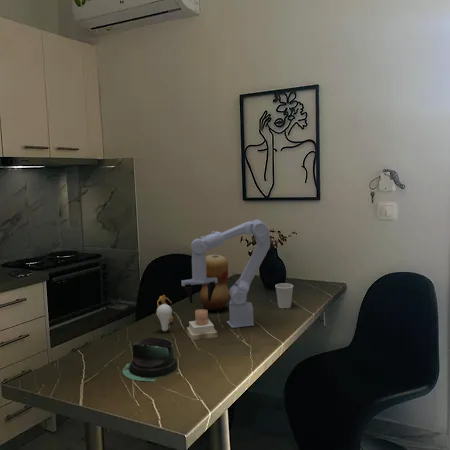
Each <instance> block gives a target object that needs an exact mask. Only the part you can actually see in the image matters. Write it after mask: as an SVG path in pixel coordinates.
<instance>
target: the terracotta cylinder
mask: <svg viewBox="0 0 450 450" xmlns="http://www.w3.org/2000/svg"><path fill="white" fill-rule="evenodd" d="M194 313H195V314H194V315H195V316H194V317H195V320H194V321H196V325H206V324H208V319H209V315H208V314H209V312H208V309H206V308H198V309H195V311H194Z"/></svg>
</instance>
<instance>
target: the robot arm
mask: <svg viewBox="0 0 450 450" xmlns="http://www.w3.org/2000/svg"><path fill="white" fill-rule="evenodd" d="M270 233H271V232H270V229H269V227H268V225H267V224H266V223H265V222H264V221H262V220H261V219H257V218H256V219H253V220H250V221H246V222H243V223H240V224H239V225H236V226H234V227H232V228H230V229H227V230H225V231H223V232H220V231H218V230H217V231H215V230H212V231H211V233H209V234H206V235H204V236H203V235H202V236H200V238H195V239H193V240H192V242H191V244H190V248H191V251H192V253H191V276H192V277H191V278H190V279H183V280H182V279H181V286H182V287H184V289H185V291H186V293H187V296H188V299H189V303H190V304H193V295H192V294H193V288H192V286H194V285H203V284H207V287H208V301H211V297H212V293H213V291H214V288H215V286H216V284H215V283H218V280H217V278H207V276H206V251H209V250H212V249H215V248H217V247H220V246H222V245H224V242H225V241H226V240H230V239H232V238H235V237H237V236H240V235H243V234H244V235H248V236H251V235H252V236H253V237H254V240H255V242H256V246H255V248H254V250H253V252H252V253H251V256H250V257H249V260H248V261H247V263H246V265H245V267H244V269H243V271H242V272H241V275H240V276H239V278H238V279H237V280H236V281H235V283H234V284H233V285H232V286H230V288H229V295H230V296H229V298H230V299H229V301H228V302H229V303H228V312H229V320H226V323H227V324H228V325H229V327H230V328H232V329H235V328H241V327H242V328H243V327H252V326H254V325H255V324H254V306H253V303H252V302H250V301H247V299H248V293H249V291H250V287H251V286H250V285H251V283H252V282H253V280H254V277H255V276H256V274H257V272H258V270H259V268H260V266H261V265H262V262H263V260H264V259H265V257H266V255H267V253H268V251H269V250H270V247H271V239H270V238H271V237H270Z"/></svg>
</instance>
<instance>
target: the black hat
mask: <svg viewBox="0 0 450 450" xmlns="http://www.w3.org/2000/svg"><path fill="white" fill-rule="evenodd" d="M173 344H174V342H173V341H172V340H170V339H168V338H163V337H145V338H141V339H140V340H138V341H136V342H134V343H132V360H131V362H130V363H126V365H125V366H124V367H123V368H122V374H123V375H124V376H125V377H126V378H128V379H130V380H134V381H143V382H155V381H157V379H159V378H162V377H165V376H168V375H171V374H172V373H174V372H175V371H177V368H178V361H177V359H176V358H175V355H174V345H173ZM128 368H129V369H128ZM176 374H177V375H179V374H180V371H178V372H177V373H176Z"/></svg>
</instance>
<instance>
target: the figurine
mask: <svg viewBox="0 0 450 450" xmlns="http://www.w3.org/2000/svg"><path fill="white" fill-rule="evenodd" d="M166 300H168V302H170V304H171V305H172V301H171V300H170V299H169V297H166V295H165V294H163V295H160V296H159V298H158V300H157V302H156V303H157V308H158V307H159V306H160V304H159V302H160V303H161V305H162V304H166V305H168V304H167V302H166ZM173 320H174V317H173V315H171V317H170V319H169V324H171V323H172V322H173Z"/></svg>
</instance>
